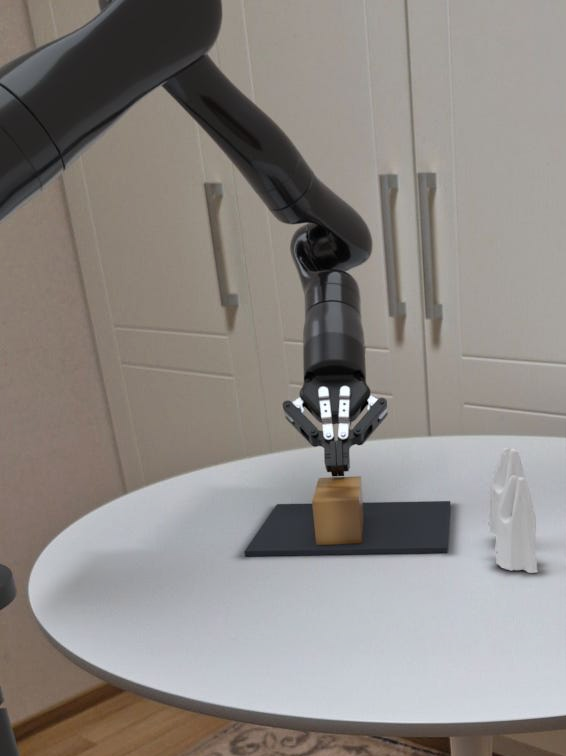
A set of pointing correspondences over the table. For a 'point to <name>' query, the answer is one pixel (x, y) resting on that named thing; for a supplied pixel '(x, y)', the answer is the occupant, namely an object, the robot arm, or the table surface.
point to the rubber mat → (380, 530)
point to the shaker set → (512, 515)
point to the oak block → (338, 511)
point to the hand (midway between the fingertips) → (337, 472)
